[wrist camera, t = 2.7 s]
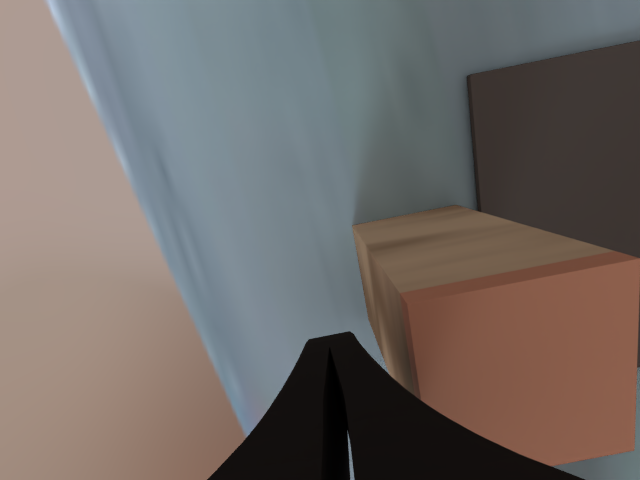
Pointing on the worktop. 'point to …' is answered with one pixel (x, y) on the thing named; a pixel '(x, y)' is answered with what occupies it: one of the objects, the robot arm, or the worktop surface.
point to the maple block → (507, 329)
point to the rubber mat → (563, 146)
